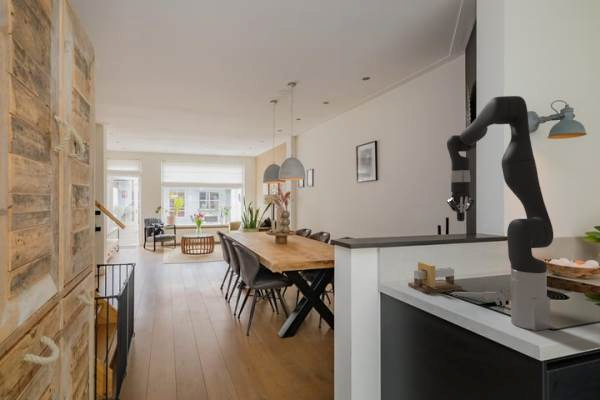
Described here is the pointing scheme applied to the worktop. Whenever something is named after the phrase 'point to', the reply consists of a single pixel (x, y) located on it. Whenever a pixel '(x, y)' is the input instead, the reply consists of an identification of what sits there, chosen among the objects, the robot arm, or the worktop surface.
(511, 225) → the robot arm
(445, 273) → the pipe
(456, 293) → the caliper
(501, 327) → the worktop surface
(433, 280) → the tan flat square slab
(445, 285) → the pipe board
